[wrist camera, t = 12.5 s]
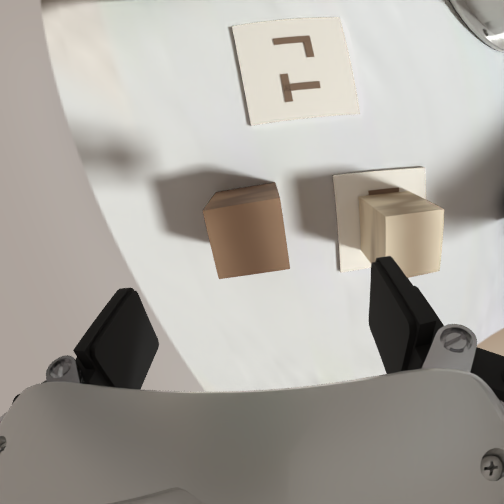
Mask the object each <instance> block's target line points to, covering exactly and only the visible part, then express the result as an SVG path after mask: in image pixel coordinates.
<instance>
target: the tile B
mask: <svg viewBox="0 0 504 504" xmlns="http://www.w3.org/2000/svg"><path fill="white" fill-rule="evenodd" d="M333 183H334V193H335V204H336V215H337V228H338V242H339V260H340V272H341V273H342V272H348V271H354V270H360V269H366V268H371V263H370V262H369V260H368V259H367V258H366V256H365V255H364V254H363V252H362V251H361V237H360V215H359V199H358V197H359V196H367V195H376V194H385V193H394V192H404V191H410V192H412V193H414V194H416V195H418V196H420V197H422V198H424V199H426V175H425V167H419V168H404V169H391V170H379V171H368V172H358V173H349V174H339V175H333Z"/></svg>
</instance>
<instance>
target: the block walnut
mask: <svg viewBox="0 0 504 504" xmlns="http://www.w3.org/2000/svg"><path fill="white" fill-rule="evenodd" d="M203 215H204V219H205V223H206V228H207V232H208V236H209V240H210V245H211V249H212V253H213V257H214V261H215V265H216V269H217V273H218V277H219V279H223V278H230V277H237V276H244V275H251V274H258V273H265V272H272V271H279V270H285V269H290V265H289V258H288V250H287V243H286V236H285V229H284V222H283V215H282V209H281V202H280V197H279V193H278V190H277V187H276V184H275V182H274V183H268V184H262V185H255V186H249V187H244V188H238V189H232V190H226V191H221V192H216V193H215V194H214V196H213V197H212V198H211V200H210V201H209V203H208V204H207V205H206V207H205V208H204V210H203Z"/></svg>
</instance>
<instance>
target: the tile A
mask: <svg viewBox="0 0 504 504" xmlns="http://www.w3.org/2000/svg"><path fill="white" fill-rule="evenodd" d="M232 29H233V34H234V39H235V44H236V49H237V54H238V59H239V65H240V70H241V75H242V80H243V85H244V91H245V96H246V101H247V107H248V112H249V117H250V123H251V126H253V125H259V124H265V123H272V122H279V121H287V120H295V119H304V118H313V117H324V116H336V115H351V114H360V111H359V104H358V98H357V92H356V87H355V81H354V76H353V71H352V66H351V61H350V57H349V52H348V48H347V44H346V40H345V36H344V32H343V28H342V24H341V20H340V17H318V18H296V19H283V20H273V21H264V22H256V23H249V24H243V25H237V26H232Z"/></svg>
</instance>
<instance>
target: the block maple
mask: <svg viewBox="0 0 504 504" xmlns="http://www.w3.org/2000/svg"><path fill="white" fill-rule="evenodd" d="M358 199H359V215H360V237H361V251H362V252H363V254H364V255H365V256H366V258H367V259H368V260H369V262H370V263H371V264H372V262H375V261H376V258H379V257H386V256H391V257H392V258H393V259H394V260H395V262H396V263H397V264H398V266H399V267H400V268H401V270H402V271H403V273H404V274H405V275H406V277H407V278H409V277H413V276H418V275H423V274H428V273H432V272H437V271H439V270H440V262H441V252H442V240H443V225H444V209H443V208H441V207H439V206H437V205H435V204H433V203H432V202H430V201H428V200H426V199H424V198H422V197H420V196H418V195H416V194H414V193H412V192H410V191H404V192H394V193H385V194H376V195H367V196H359V197H358Z"/></svg>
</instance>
